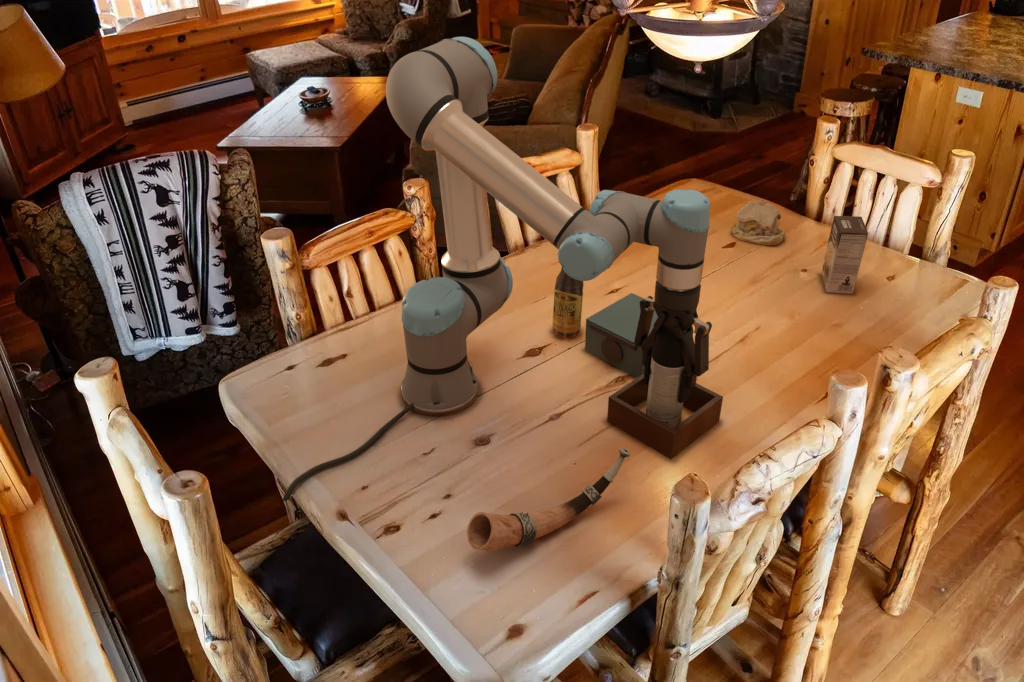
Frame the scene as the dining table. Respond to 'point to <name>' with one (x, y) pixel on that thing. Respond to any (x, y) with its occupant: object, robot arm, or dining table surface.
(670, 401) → the spray can
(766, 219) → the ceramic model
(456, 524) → the dining table surface
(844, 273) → the coffee box
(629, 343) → the green block
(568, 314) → the sauce bottle
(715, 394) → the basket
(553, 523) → the curved blowing horn
